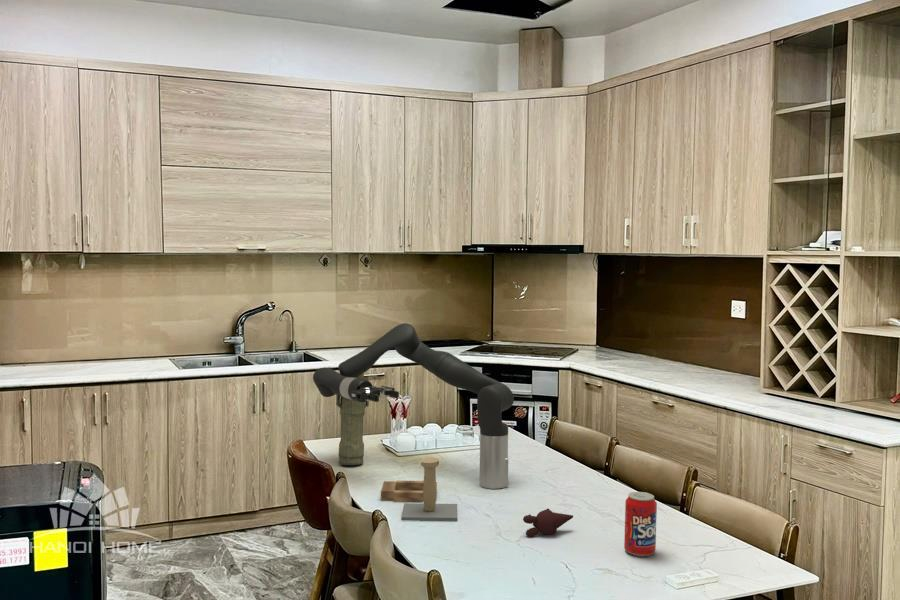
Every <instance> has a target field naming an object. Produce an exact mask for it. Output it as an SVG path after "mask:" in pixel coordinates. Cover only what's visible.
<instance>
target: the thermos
mask: <svg viewBox="0 0 900 600" xmlns="http://www.w3.org/2000/svg"><path fill="white" fill-rule="evenodd" d="M356 378H359V379H364V380H368V381H369V382H370V380H369V379H368V378H367V377H365V373H363V374H361V375H359V376H358V377H356ZM335 396H336V397H335V398H336V399H335V400H336V401H335V405H336V406H337V407H338V408H339V413H340V418H341V419H340V441H339V443H338V458H339V459H338V460H339V461H338V464H340V465H344V466H345V465H346V466H356V465H362V464H364V455H365V443H364V439H363V438H364V436H363V435H364V416H365V413H366V411H365V409H366V408H367V407H369V405H370V401H367V402H358V401H354V400H350V399H347V398H345V397H341V396H337V395H335Z"/></svg>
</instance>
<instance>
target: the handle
mask: <svg viewBox="0 0 900 600" xmlns="http://www.w3.org/2000/svg"><path fill="white" fill-rule="evenodd" d="M439 465H440V458H439V457H434V456H427V457H424V458H422V459H421V460H420V466H421V467H422V468H423V469H424V471H423V481H424V485H423V503H424V509H425V511H429V512H431V511H434V510H435V504H437V495H436V482H437V475H436V474H437V473H436V472H437V471H436V470H437V469H436V468H438V466H439Z"/></svg>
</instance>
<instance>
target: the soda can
mask: <svg viewBox="0 0 900 600" xmlns="http://www.w3.org/2000/svg"><path fill="white" fill-rule="evenodd" d="M627 495H628V496H627V498H626V499H625V503H624V507H625V508H624V509H625V511H624V537H623V538H624V539H623V540H624V541H623V542H624V543H623V545H624V546H623V547H624V549H625V551H626V552H627V553H629V554H630V553H631V554H630V555H632V554H633V555H632V556H635V555H636V557H640V556H645V557H649V556H651V555H653V554H655V553H656V547H657V545H656V544H657V519H658V518H657V515H658V514H657V511H658V507H657V506H658V504H657V501H656V500H655V495H654V494H651V493H649V492H644V491H632V492H629V493H628V494H627Z"/></svg>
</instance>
